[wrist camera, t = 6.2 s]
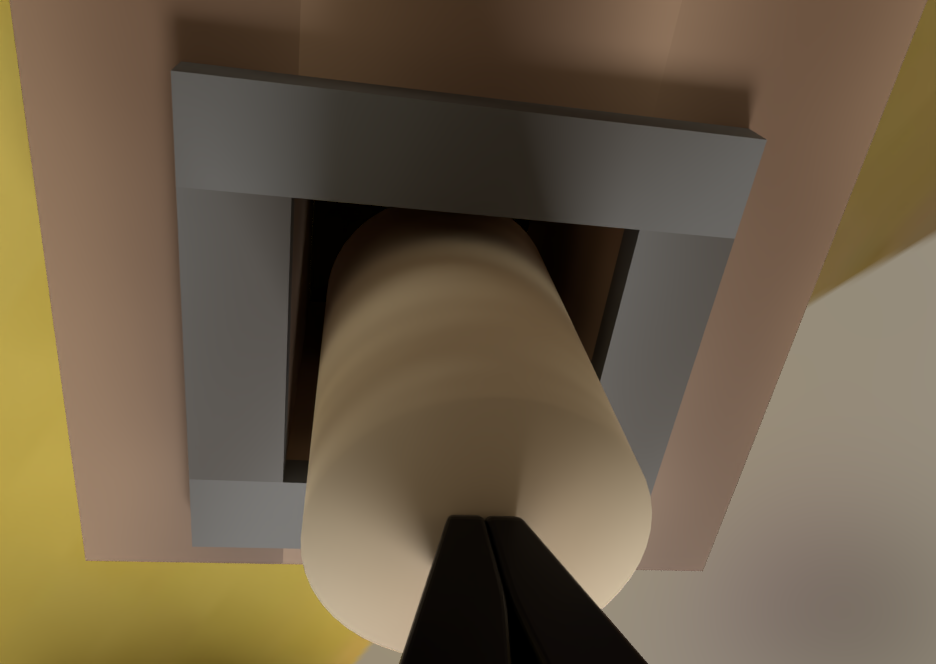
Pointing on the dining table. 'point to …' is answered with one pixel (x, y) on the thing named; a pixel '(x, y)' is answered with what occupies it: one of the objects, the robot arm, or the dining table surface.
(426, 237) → the peg
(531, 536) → the robot arm
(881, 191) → the dining table surface
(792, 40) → the walnut block
